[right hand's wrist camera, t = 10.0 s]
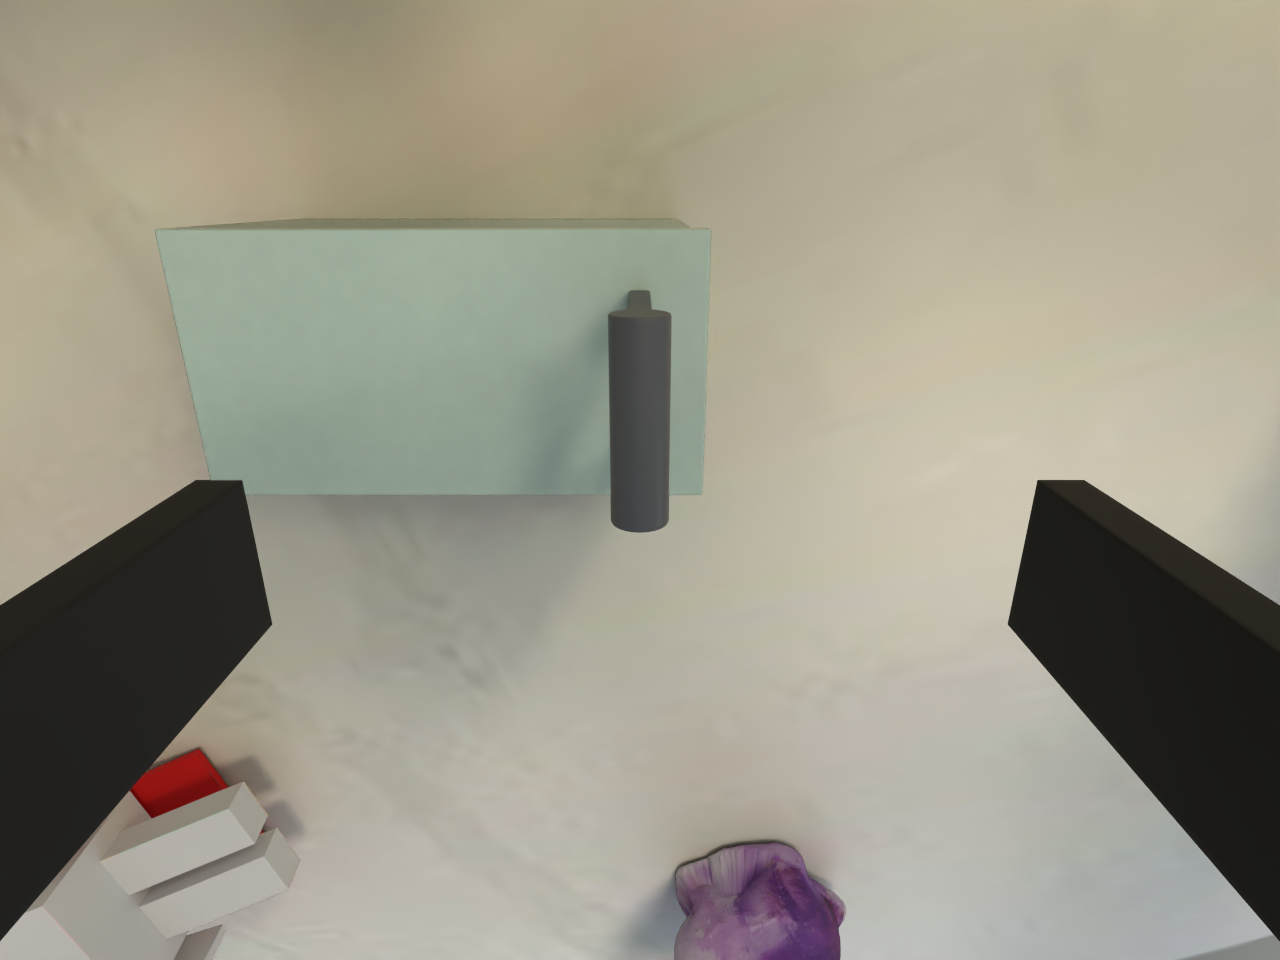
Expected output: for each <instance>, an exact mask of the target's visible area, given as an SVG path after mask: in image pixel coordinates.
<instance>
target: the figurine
mask: <svg viewBox="0 0 1280 960" xmlns="http://www.w3.org/2000/svg"><path fill="white" fill-rule="evenodd" d="M676 884H677V885H676V887H677V888H676V890H677V891H676V892H677V894H676V895H677V900H678V901H679V904H680V906H681V908H682V910H683V912H684V914H685V915H686V917H687V919H686V920H685V921H684V923H683V924H682V926H681V928H680V930H679V932H678V934H677V936H676V941H675V947H674V960H840V936H839V929H838V928H839V926H840V925H841V923H842V922H843V921H844V919H845V915H846V907H845V904H844V902H843V901H842V900H841V899H840V897H839V896H838V895H836V894H835V893H834V892H832V891H831V890H829V889H828V888H827V887H825V886H823V885H822V884H820V883H818V882H816V881H815V880H813V879H812V878H810V877H809V876H808V875H807V872H806V867H805V864H804V861H803V858H802V856H801V855H800V854H799V853H798V852H797V851H796V850H795V849H794V848H791V847H788V846H786V845H784V844H782V843H776V842H773V843H768V844H751V845H740V846H734V847H729V848H723V849H722V850H720V851H718V852H716V853H714V854H712V855H710V856H708V857H707V858H706V859H702V860H700V861H695V862H693V863H689V864H687V865H685V866H683V867H680V868H679V869H678V871H677V873H676Z"/></svg>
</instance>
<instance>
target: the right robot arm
mask: <svg viewBox="0 0 1280 960" xmlns="http://www.w3.org/2000/svg"><path fill="white" fill-rule="evenodd" d="M271 625H272V621H271V616H270V611H269V606H268V602H267V597H266V592H265V587H264V582H263V577H262V573H261V568H260V563H259V558H258V553H257V548H256V544H255V539H254V534H253V529H252V524H251V520H250V515H249V510H248V505H247V500H246V495H245V491H244V486H243V481H242V480H195V481H194V482H192V483H191V484H189V485H188V486H186V487H184V488H183V489H181V490H180V491H178V492H177V493H175V494H174V495H172V496H170V497H169V498H167V499H166V500H164V501H163V502H161V503H159V504H158V505H156V506H155V507H153V508H152V509H150V510H149V511H147V512H145V513H144V514H142V515H141V516H139V517H138V518H136V519H135V520H133V521H131V522H130V523H128V524H127V525H125V526H124V527H122V528H120V529H119V530H117V531H116V532H114V533H113V534H111V535H110V536H108V537H106V538H105V539H103V540H102V541H100V542H99V543H97V544H95V545H94V546H92V547H91V548H89V549H88V550H86V551H85V552H83V553H81V554H80V555H78V556H77V557H75V558H74V559H72V560H70V561H69V562H67V563H66V564H64V565H63V566H61V567H60V568H58V569H56V570H55V571H53V572H52V573H50V574H49V575H47V576H46V577H44V578H42V579H41V580H39V581H38V582H36V583H35V584H33V585H31V586H30V587H28V588H27V589H25V590H24V591H22V592H21V593H19V594H17V595H16V596H14V597H13V598H11V599H10V600H8V601H6V602H5V603H3V604H2V605H0V941H1V940H2V939H3V938H4V936H5V935H6V934H7V933H8V932H9V931H10V929H11V928H12V927H13V926H14V925H15V924H16V922H17V921H18V920H19V919H20V918H21V917H22V915H23V914H24V913H25V912H26V911H27V910H28V908H29V907H30V906H31V905H32V904H33V903H34V901H35V900H36V899H37V898H38V897H39V896H40V894H41V893H42V892H43V891H44V890H45V889H46V887H47V886H48V885H49V884H50V883H51V882H52V880H53V879H54V878H55V877H56V876H57V875H58V873H59V872H60V871H61V870H62V869H63V868H64V866H65V865H66V864H67V863H68V862H69V861H70V859H71V858H72V857H73V856H74V855H75V854H76V852H77V851H78V850H79V849H80V848H81V847H82V845H83V844H84V843H85V842H86V841H87V840H88V838H89V837H90V836H91V835H92V834H93V833H94V831H95V830H96V829H97V828H98V827H99V826H100V824H101V823H102V822H103V821H104V820H105V819H106V817H107V816H108V815H109V814H110V813H111V812H112V810H113V809H114V808H115V807H116V806H117V805H118V803H119V802H120V801H121V800H122V799H123V798H124V797H125V795H126V794H127V793H128V792H129V791H130V790H131V788H132V787H133V786H134V785H135V784H136V783H137V781H138V780H139V779H140V778H141V777H142V776H143V774H144V773H145V772H146V771H147V770H148V769H149V767H150V766H151V765H152V764H153V763H154V762H155V760H156V759H157V758H158V757H159V756H160V755H161V753H162V752H163V751H164V750H165V749H166V748H167V746H168V745H169V744H170V743H171V742H172V741H173V739H174V738H175V737H176V736H177V735H178V734H179V732H180V731H181V730H182V729H183V728H184V727H185V725H186V724H187V723H188V722H189V721H190V720H191V718H192V717H193V716H194V715H195V714H196V713H197V711H198V710H199V709H200V708H201V707H202V706H203V704H204V703H205V702H206V701H207V700H208V699H209V697H210V696H211V695H212V694H213V693H214V692H215V690H216V689H217V688H218V687H219V686H220V685H221V683H222V682H223V681H224V680H225V679H226V678H227V676H228V675H229V674H230V673H231V672H232V671H233V669H234V668H235V667H236V666H237V665H238V664H239V662H240V661H241V660H242V659H243V658H244V657H245V655H246V654H247V653H248V652H249V651H250V650H251V648H252V647H253V646H254V645H255V644H256V643H257V641H258V640H259V639H260V638H261V637H262V636H263V635H264V633H265V632H266V631H267V630H268V629H269V628H270V626H271ZM1008 625H1009V626H1010V628H1011V629H1012V630H1013V631H1014V632H1015V633H1016V635H1017V636H1018V637H1019V638H1020V639H1021V640H1022V642H1023V643H1024V644H1025V645H1026V646H1027V647H1028V648H1029V650H1030V651H1031V652H1032V653H1033V654H1034V655H1035V657H1036V658H1037V659H1038V660H1039V661H1040V662H1041V664H1042V665H1043V666H1044V667H1045V668H1046V669H1047V671H1048V672H1049V673H1050V674H1051V675H1052V676H1053V678H1054V679H1055V680H1056V681H1057V682H1058V683H1059V685H1060V686H1061V687H1062V688H1063V689H1064V690H1065V692H1066V693H1067V694H1068V695H1069V696H1070V697H1071V699H1072V700H1073V701H1074V702H1075V703H1076V704H1077V706H1078V707H1079V708H1080V709H1081V710H1082V711H1083V713H1084V714H1085V715H1086V716H1087V717H1088V718H1089V720H1090V721H1091V722H1092V723H1093V724H1094V725H1095V727H1096V728H1097V729H1098V730H1099V731H1100V732H1101V734H1102V735H1103V736H1104V737H1105V738H1106V739H1107V741H1108V742H1109V743H1110V744H1111V745H1112V746H1113V748H1114V749H1115V750H1116V751H1117V752H1118V753H1119V755H1120V756H1121V757H1122V758H1123V759H1124V760H1125V762H1126V763H1127V764H1128V765H1129V766H1130V767H1131V769H1132V770H1133V771H1134V772H1135V773H1136V774H1137V776H1138V777H1139V778H1140V779H1141V780H1142V781H1143V783H1144V784H1145V785H1146V786H1147V787H1148V788H1149V790H1150V791H1151V792H1152V793H1153V794H1154V795H1155V797H1156V798H1157V799H1158V800H1159V801H1160V802H1161V804H1162V805H1163V806H1164V807H1165V808H1166V809H1167V810H1168V812H1169V813H1170V814H1171V815H1172V816H1173V817H1174V819H1175V820H1176V821H1177V822H1178V823H1179V824H1180V826H1181V827H1182V828H1183V829H1184V830H1185V831H1186V833H1187V834H1188V835H1189V836H1190V837H1191V838H1192V840H1193V841H1194V842H1195V843H1196V844H1197V845H1198V847H1199V848H1200V849H1201V850H1202V851H1203V852H1204V854H1205V855H1206V856H1207V857H1208V858H1209V859H1210V861H1211V862H1212V863H1213V864H1214V865H1215V866H1216V868H1217V869H1218V870H1219V871H1220V872H1221V873H1222V875H1223V876H1224V877H1225V878H1226V879H1227V880H1228V882H1229V883H1230V884H1231V885H1232V886H1233V887H1234V889H1235V890H1236V891H1237V892H1238V893H1239V894H1240V896H1241V897H1242V898H1243V899H1244V900H1245V901H1246V903H1247V904H1248V905H1249V906H1250V907H1251V908H1252V910H1253V911H1254V912H1255V913H1256V914H1257V915H1258V917H1259V918H1260V919H1261V920H1262V921H1263V922H1264V924H1265V925H1266V926H1267V927H1268V928H1269V929H1270V931H1271V932H1272V933H1273V934H1274V935H1275V936H1276V937H1277V939H1278V940H1279V941H1280V605H1278V604H1277V603H1275V602H1274V601H1272V600H1270V599H1269V598H1267V597H1266V596H1264V595H1263V594H1261V593H1259V592H1258V591H1256V590H1255V589H1253V588H1252V587H1250V586H1249V585H1247V584H1245V583H1244V582H1242V581H1241V580H1239V579H1238V578H1236V577H1234V576H1233V575H1231V574H1230V573H1228V572H1227V571H1225V570H1224V569H1222V568H1220V567H1219V566H1217V565H1216V564H1214V563H1213V562H1211V561H1210V560H1208V559H1206V558H1205V557H1203V556H1202V555H1200V554H1199V553H1197V552H1195V551H1194V550H1192V549H1191V548H1189V547H1188V546H1186V545H1185V544H1183V543H1181V542H1180V541H1178V540H1177V539H1175V538H1174V537H1172V536H1170V535H1169V534H1167V533H1166V532H1164V531H1163V530H1161V529H1160V528H1158V527H1156V526H1155V525H1153V524H1152V523H1150V522H1149V521H1147V520H1145V519H1144V518H1142V517H1141V516H1139V515H1138V514H1136V513H1135V512H1133V511H1131V510H1130V509H1128V508H1127V507H1125V506H1124V505H1122V504H1121V503H1119V502H1117V501H1116V500H1114V499H1113V498H1111V497H1110V496H1108V495H1106V494H1105V493H1103V492H1102V491H1100V490H1099V489H1097V488H1096V487H1094V486H1092V485H1091V484H1089V483H1088V482H1086V481H1085V480H1038V481H1037V486H1036V491H1035V495H1034V500H1033V505H1032V510H1031V515H1030V520H1029V524H1028V529H1027V534H1026V539H1025V544H1024V548H1023V553H1022V558H1021V563H1020V568H1019V573H1018V577H1017V582H1016V587H1015V592H1014V597H1013V602H1012V606H1011V611H1010V616H1009V621H1008Z"/></svg>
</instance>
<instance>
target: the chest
mask: <svg viewBox="0 0 1280 960" xmlns="http://www.w3.org/2000/svg"><path fill="white" fill-rule="evenodd" d="M179 228H691V227H689V226H688V225H686V224H685V223H683V222H681V221H680V220H678V219H295V220H281V221H266V222H252V223H237V224H223V225H208V226H194V227H179Z"/></svg>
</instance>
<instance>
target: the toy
mask: <svg viewBox="0 0 1280 960" xmlns="http://www.w3.org/2000/svg"><path fill="white" fill-rule="evenodd" d="M267 817H268V814H267V813H266V811H265V810H264V809H263V807H262V806H261V804H260V803H259V802H258V800H257V799H256V798H255V796H254V795H253V793H252V792H251V791H250V789H249V788H248V786H247V785H246V784H245V782H244V781H243V782H240V783H238V784H235V785H233V786H231V787H228V785H227V784H226V783H225V782H224V780H223V779H222V778H221V776H220V775H219V774H218V773H217V771H216V770H215V769H214V767H213V766H212V765H211V764H210V762H209V761H208V760H207V758H206V757H205V756H204V754H203V753H202V752H201V751H200V749H197V750H195V751H193V752H190V753H188V754H186V755H184V756H182V757H179V758H177V759H175V760H173V761H170V762H168V763H166V764H164V765H161V766H159V767H157V768H155V769H153V770H150V771H148V772H146V773H144V774H143V776H142V777H141V778H140V779H139V780H138V781H137V783H136V784H135V785H134V786H133V787H132V788H131V790H130V791H129V792H128V793H127V794H126V795H125V797H124V798H123V799H122V800H121V801H120V802H119V803H118V805H117V806H116V807H115V808H114V809H113V810H112V812H111V813H110V814H109V815H108V816H107V817H106V819H105V820H104V821H103V822H102V823H101V824H100V826H99V827H98V828H97V829H96V830H95V831H94V833H93V834H92V835H91V836H90V837H89V838H88V840H87V841H86V842H85V843H84V844H83V845H82V847H81V848H80V849H79V850H78V851H77V852H76V854H75V855H74V856H73V857H72V858H71V859H70V861H69V862H68V863H67V864H66V865H65V866H64V868H63V869H62V870H61V871H60V872H59V873H58V875H57V876H56V877H55V878H54V879H53V880H52V882H51V883H50V884H49V885H48V886H47V887H46V889H45V890H44V891H43V892H42V893H41V894H40V896H39V897H38V898H37V899H36V900H35V901H34V903H33V904H32V905H31V906H30V907H29V908H28V910H27V911H26V912H25V913H24V914H23V915H22V917H21V918H20V919H19V920H18V921H17V922H16V924H15V925H14V926H13V927H12V928H11V929H10V931H9V932H8V933H7V934H6V935H5V936H4V938H3V939H2V940H1V941H0V960H212V959H213V957H214V955H215V953H216V951H217V949H218V947H219V945H220V942H221V940H222V938H223V936H224V934H225V932H226V929H225V928H224V926H223V925H219V926H216V927H212V928H209V929H206V930H203V931H200V932H196V933H193V934H190V935H187V933H188V931H189V930H191V929H193V928H196V927H198V926H201V925H203V924H206V923H208V922H210V921H213V920H215V919H218V918H220V917H223V916H225V915H228V914H230V913H232V912H235V911H237V910H240V909H242V908H245V907H247V906H250V905H252V904H254V903H257V902H259V901H262V900H264V899H267V898H269V897H271V896H274V895H276V894H279V893H281V892H284V891H286V890H289V887H290V885H291V882H292V880H293V877H294V874H295V872H296V869H297V867H298V864H299V862H300V859H299V857H298V856H297V854H296V853H295V852H294V850H293V849H292V847H291V846H290V845H289V843H288V842H287V841H286V839H285V838H284V836H283V835H282V834H281V832H280V831H279V829H278V828H277V827H276V828H274V829H272V830H269V831H267V832H263V831H262V828H263V826H264V823H265V821H266V819H267ZM186 935H187V936H186Z"/></svg>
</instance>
